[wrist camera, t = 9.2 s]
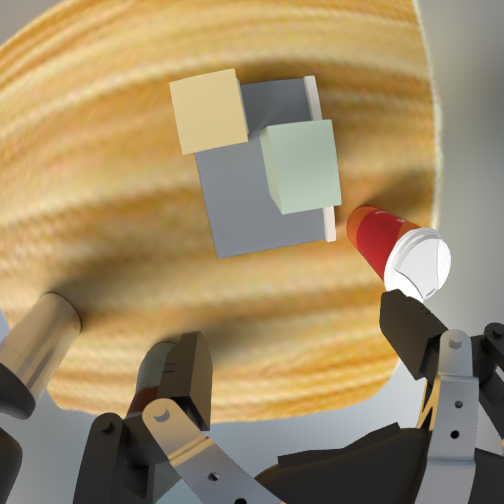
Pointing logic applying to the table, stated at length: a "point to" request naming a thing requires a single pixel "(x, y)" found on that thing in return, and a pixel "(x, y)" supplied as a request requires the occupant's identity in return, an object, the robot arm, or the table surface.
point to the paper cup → (400, 251)
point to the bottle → (145, 395)
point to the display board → (260, 176)
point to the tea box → (301, 165)
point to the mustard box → (209, 111)
